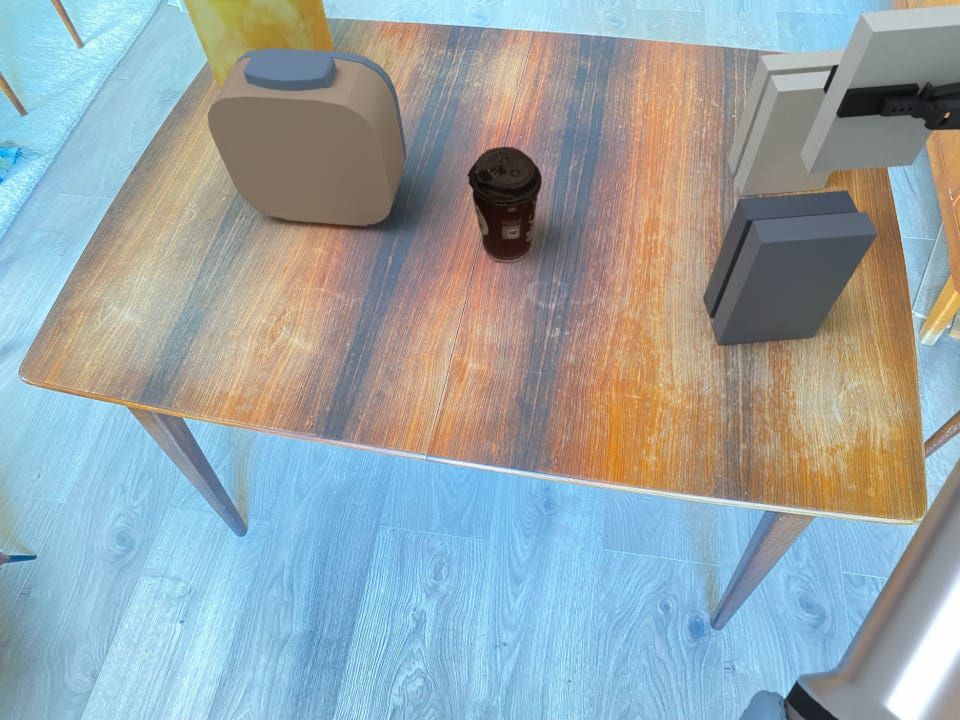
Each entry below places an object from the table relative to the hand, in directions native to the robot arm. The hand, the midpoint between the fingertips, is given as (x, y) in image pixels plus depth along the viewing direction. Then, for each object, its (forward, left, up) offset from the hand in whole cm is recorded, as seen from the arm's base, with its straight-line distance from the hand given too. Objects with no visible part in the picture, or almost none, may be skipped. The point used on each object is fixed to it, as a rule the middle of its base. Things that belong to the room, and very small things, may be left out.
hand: (836, 91), depth 66 cm
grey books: (-3, +10, -23) cm, 25 cm away
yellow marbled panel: (+78, +6, -24) cm, 82 cm away
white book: (-4, -4, -9) cm, 11 cm away
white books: (+5, -14, -23) cm, 28 cm away
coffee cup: (+28, +17, -23) cm, 40 cm away
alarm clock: (+52, +24, -23) cm, 62 cm away
